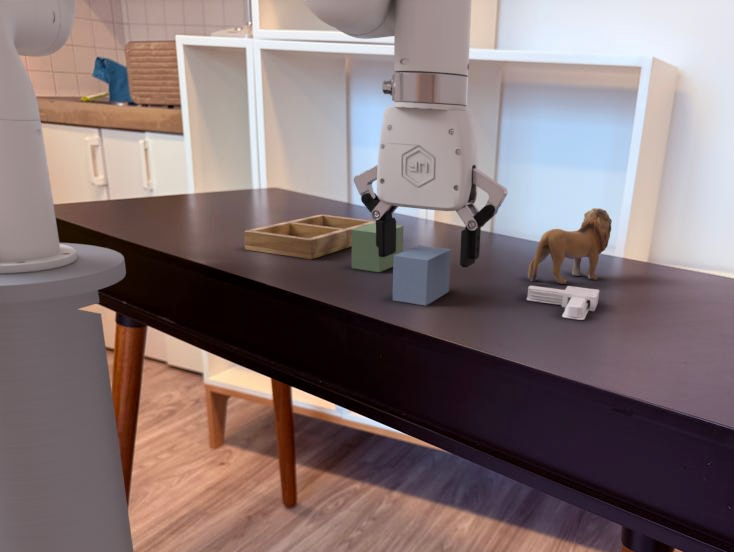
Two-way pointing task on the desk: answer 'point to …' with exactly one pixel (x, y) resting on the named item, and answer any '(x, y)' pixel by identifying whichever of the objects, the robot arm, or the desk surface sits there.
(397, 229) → the pad
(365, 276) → the desk surface
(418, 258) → the blue-grey block
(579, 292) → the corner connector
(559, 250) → the lion figurine
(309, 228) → the tray
